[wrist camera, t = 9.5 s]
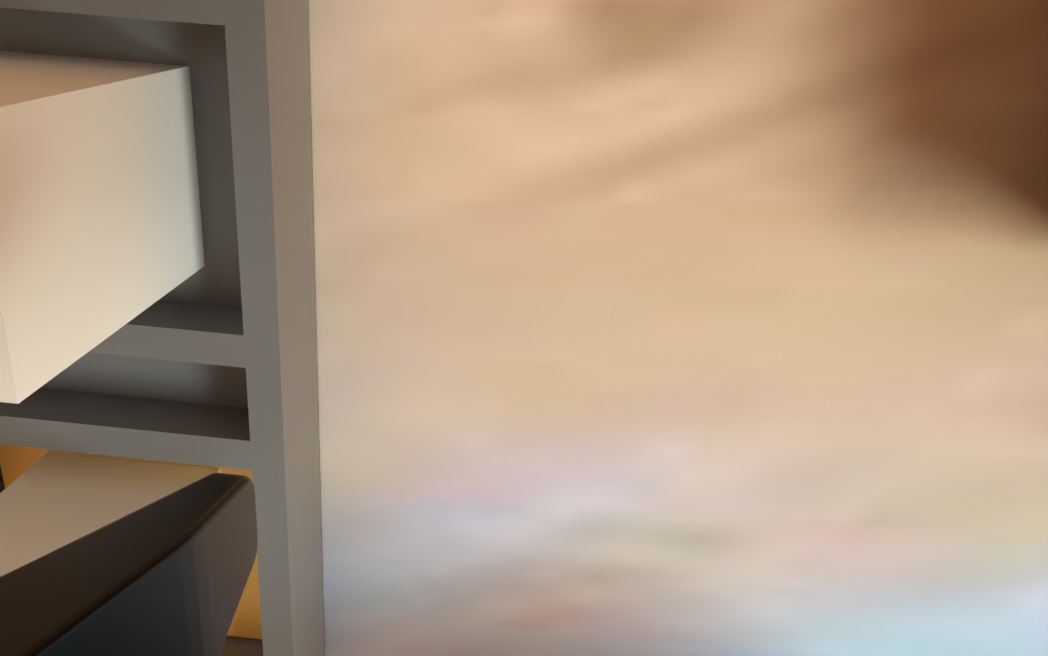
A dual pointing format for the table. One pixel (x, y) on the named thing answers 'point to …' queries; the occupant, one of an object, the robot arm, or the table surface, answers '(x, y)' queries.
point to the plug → (79, 499)
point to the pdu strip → (223, 316)
